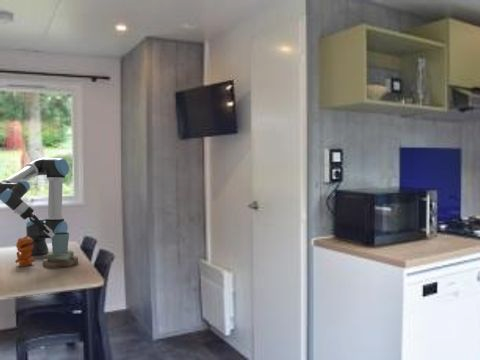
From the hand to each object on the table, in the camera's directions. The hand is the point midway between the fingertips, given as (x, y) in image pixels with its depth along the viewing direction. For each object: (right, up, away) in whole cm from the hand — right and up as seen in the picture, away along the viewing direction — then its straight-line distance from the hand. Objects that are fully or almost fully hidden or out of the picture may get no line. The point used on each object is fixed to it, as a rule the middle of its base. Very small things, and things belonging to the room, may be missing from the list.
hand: (52, 234), depth 271 cm
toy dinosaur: (-17, -19, +1) cm, 25 cm away
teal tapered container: (+4, -12, +3) cm, 13 cm away
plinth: (+4, -19, +4) cm, 19 cm away
